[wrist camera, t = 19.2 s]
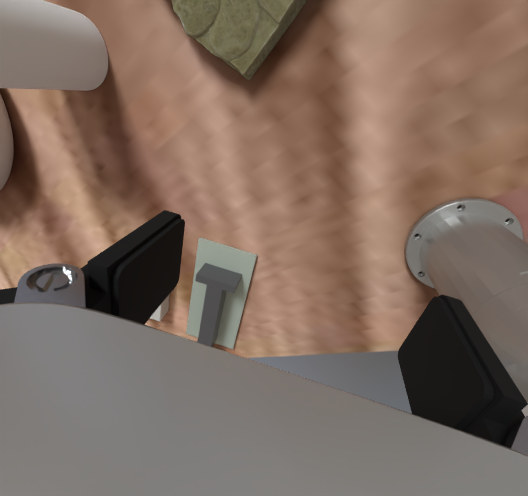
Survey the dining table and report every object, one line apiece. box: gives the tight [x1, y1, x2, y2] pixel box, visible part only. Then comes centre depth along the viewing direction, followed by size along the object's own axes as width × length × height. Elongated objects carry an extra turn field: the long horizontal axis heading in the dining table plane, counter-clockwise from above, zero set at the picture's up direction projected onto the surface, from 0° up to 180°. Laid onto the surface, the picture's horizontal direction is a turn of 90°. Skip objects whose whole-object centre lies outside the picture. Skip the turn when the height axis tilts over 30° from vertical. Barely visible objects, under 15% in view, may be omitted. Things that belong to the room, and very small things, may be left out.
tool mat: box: [186, 237, 257, 349], centre depth 48 cm, size 9×20×1 cm, turn 167°
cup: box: [0, 0, 108, 91], centre depth 29 cm, size 8×8×16 cm
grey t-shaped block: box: [195, 263, 242, 347], centre depth 47 cm, size 15×6×4 cm, turn 167°
